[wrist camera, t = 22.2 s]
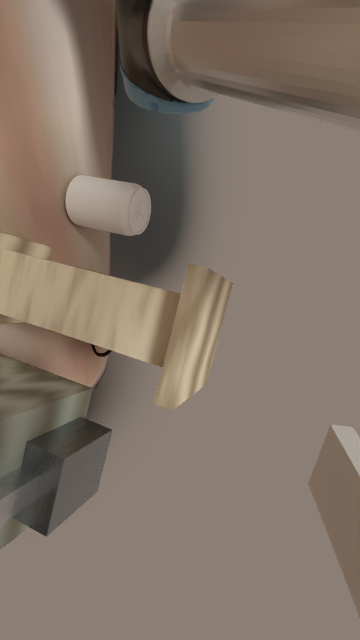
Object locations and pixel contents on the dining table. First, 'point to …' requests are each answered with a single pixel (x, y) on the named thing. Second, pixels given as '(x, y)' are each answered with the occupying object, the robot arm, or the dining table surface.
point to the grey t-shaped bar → (55, 475)
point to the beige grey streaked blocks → (97, 339)
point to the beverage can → (108, 205)
